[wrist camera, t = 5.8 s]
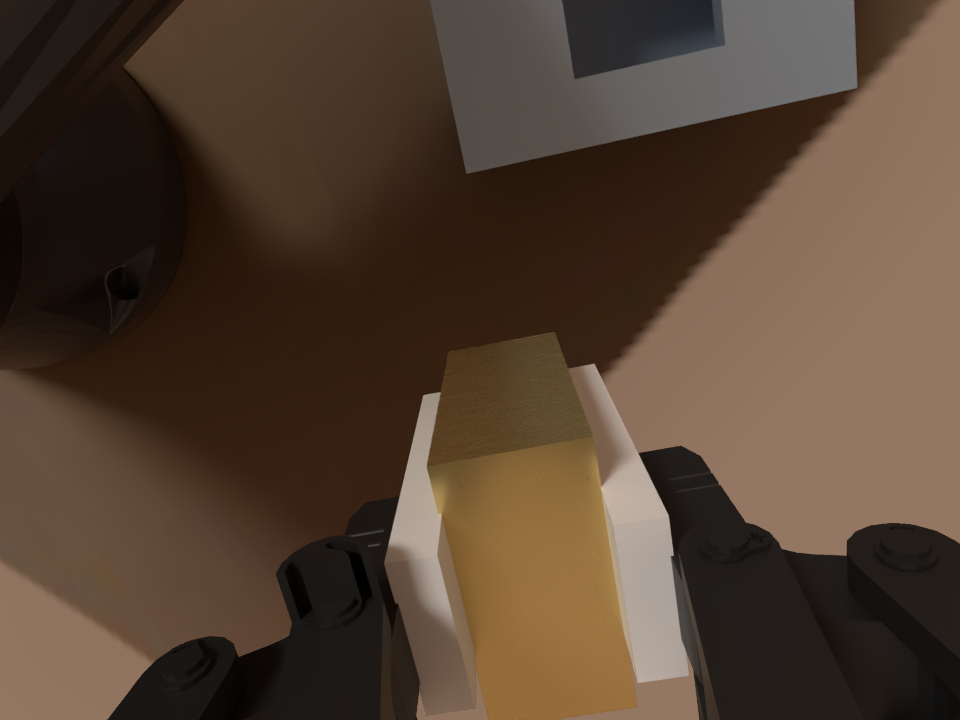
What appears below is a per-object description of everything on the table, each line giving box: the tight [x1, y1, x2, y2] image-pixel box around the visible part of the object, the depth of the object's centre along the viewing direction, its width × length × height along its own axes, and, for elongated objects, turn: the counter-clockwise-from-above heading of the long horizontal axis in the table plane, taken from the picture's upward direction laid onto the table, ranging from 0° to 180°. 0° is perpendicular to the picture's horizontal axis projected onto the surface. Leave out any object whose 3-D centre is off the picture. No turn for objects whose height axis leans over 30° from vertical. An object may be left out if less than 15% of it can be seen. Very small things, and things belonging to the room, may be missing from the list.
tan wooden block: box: [427, 332, 637, 720], centre depth 14 cm, size 2×5×6 cm, turn 11°
